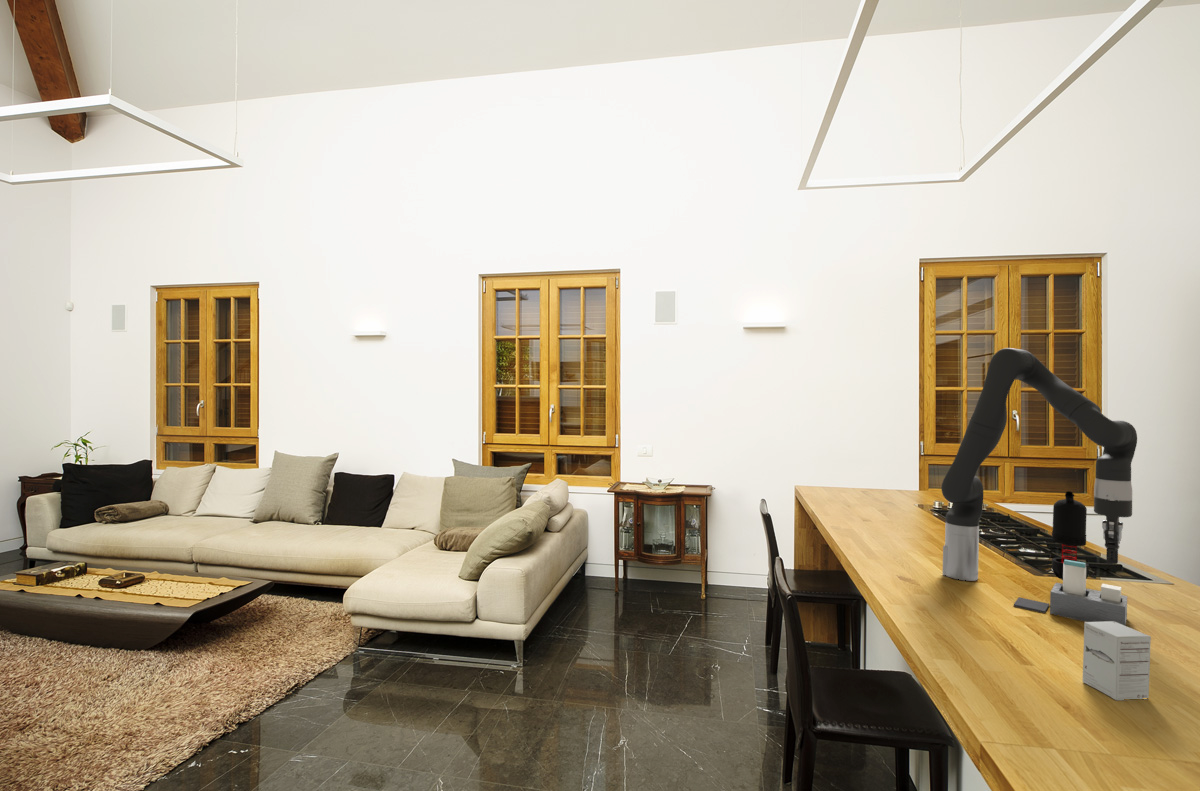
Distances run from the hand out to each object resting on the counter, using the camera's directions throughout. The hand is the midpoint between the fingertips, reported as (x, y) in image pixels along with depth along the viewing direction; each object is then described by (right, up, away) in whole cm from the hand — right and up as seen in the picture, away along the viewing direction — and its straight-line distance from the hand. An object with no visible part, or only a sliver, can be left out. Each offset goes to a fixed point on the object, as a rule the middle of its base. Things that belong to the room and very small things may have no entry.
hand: (1112, 562), depth 152 cm
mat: (-14, -15, +10) cm, 23 cm away
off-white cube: (0, -11, 0) cm, 11 cm away
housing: (-4, -15, +3) cm, 16 cm away
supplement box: (-31, -15, -36) cm, 50 cm away
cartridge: (-6, -15, +5) cm, 17 cm away
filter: (+12, -16, +29) cm, 35 cm away
